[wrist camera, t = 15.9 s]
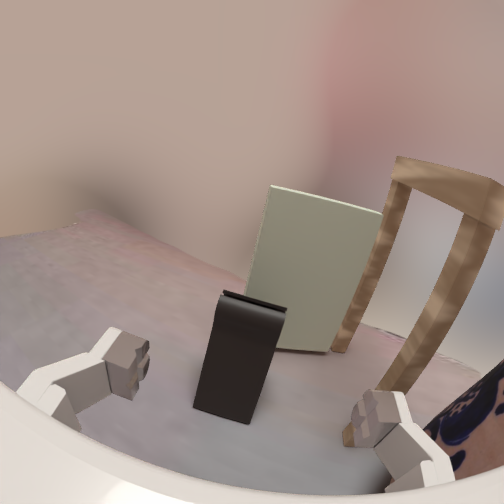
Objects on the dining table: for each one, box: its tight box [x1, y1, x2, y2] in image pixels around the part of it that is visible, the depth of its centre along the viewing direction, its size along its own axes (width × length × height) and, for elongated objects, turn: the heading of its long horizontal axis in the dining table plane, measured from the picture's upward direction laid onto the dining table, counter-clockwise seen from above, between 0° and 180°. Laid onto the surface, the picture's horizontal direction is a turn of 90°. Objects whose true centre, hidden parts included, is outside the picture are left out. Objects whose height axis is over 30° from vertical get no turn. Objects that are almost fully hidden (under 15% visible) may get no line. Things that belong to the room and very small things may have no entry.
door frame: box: [331, 156, 504, 447], centre depth 28 cm, size 2×19×28 cm, turn 173°
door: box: [244, 185, 384, 352], centre depth 35 cm, size 3×13×20 cm, turn 93°
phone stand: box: [193, 290, 287, 424], centre depth 28 cm, size 9×6×12 cm, turn 169°
